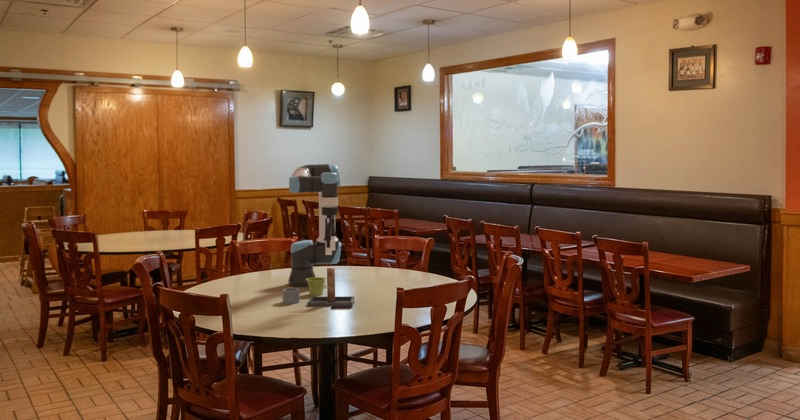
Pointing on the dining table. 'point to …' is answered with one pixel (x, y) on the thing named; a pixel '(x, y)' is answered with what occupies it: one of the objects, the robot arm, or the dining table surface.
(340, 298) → the tray
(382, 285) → the dining table surface
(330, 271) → the dowel
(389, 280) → the dining table surface
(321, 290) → the plant pot
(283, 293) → the cup
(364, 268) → the dining table surface
